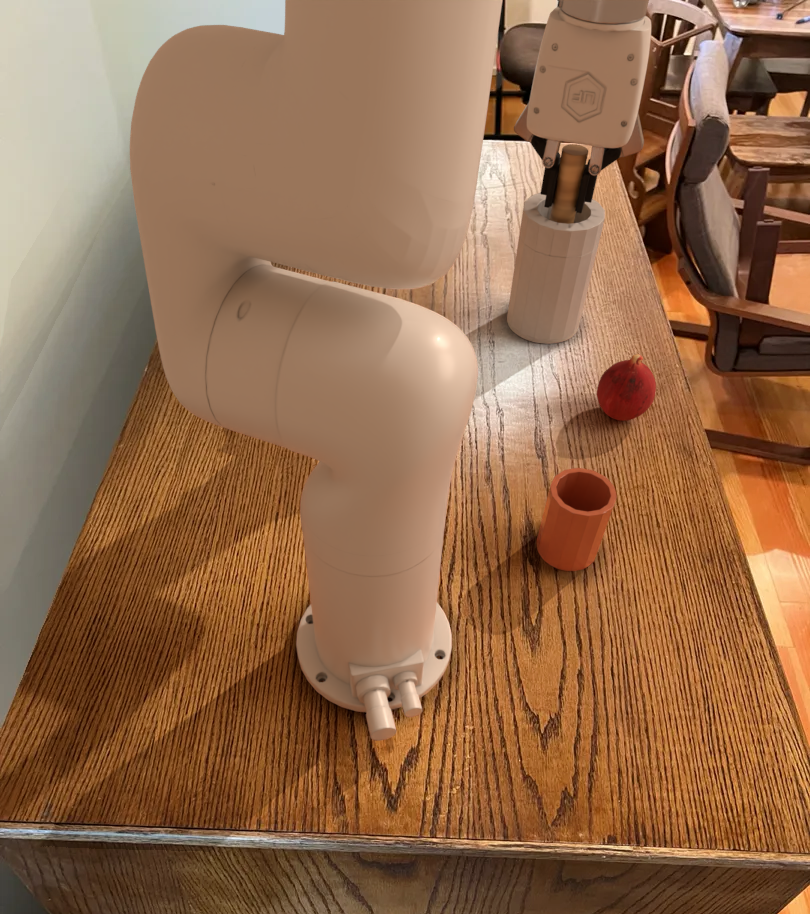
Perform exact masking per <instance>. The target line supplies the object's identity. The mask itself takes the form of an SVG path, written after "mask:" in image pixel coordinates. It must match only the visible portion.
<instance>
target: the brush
mask: <svg viewBox="0 0 810 914" xmlns="http://www.w3.org/2000/svg"><path fill="white" fill-rule="evenodd" d="M588 155H589V149H588V148H587V147H586V146H585V145H582V144H576V143H571V144H566V145H564V146H563V147H562V148H561V153H560V157H561V159H560V164H559V172H558V177H557V183H556V188H555V194H554V199H553V204H552V209H551V214H550V220H551V221H554V222H557V223H566V224H571V223H574V219H575V214H576V211H575V208H576V203H577V198H578V193H579V189H580V184H581V179H582V175H583V172H584V170H585V166H586V164H587V162H588Z"/></svg>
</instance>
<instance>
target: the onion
mask: <svg viewBox="0 0 810 914" xmlns="http://www.w3.org/2000/svg"><path fill="white" fill-rule="evenodd" d="M643 361H644V357H643V355H641V354H640V353H636V354H633V355H632V356H631V358H629V359H625V360H620V361H618V362H615V363H613V364H612V365H611V366H609V367H608V368H607V369H606V370H605V371H604V372H603V373H602V375H601V377H600V379H599V381H598V385H597V388H596V398H597V402H598V404H599V407H600V408H601V410H602V411H603V413H605V415H606V416H608V417H609V418H611V419H613V420H617V421H620V422H621V421H631V420H634V419H637V418H638V417H640V416H642V415H643V414H645V413H646V412H647V411H648V410H649V409H650V408H651V406H652V404H654V401H655V398H656V393H657V392H656V390H657V382H656V379H655V376H654V374H653V371H652V370H651V368H649V366H648V365H646V364H645V363H643Z"/></svg>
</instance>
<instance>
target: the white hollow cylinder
mask: <svg viewBox="0 0 810 914" xmlns="http://www.w3.org/2000/svg"><path fill="white" fill-rule="evenodd" d="M545 200H546V195H542V194H541V191H539V192H537V193H535V194H532V195H530V197H528V198H527V199H526V200H525V201H524V203H523V208H522V215H521V221H520V227H519V228H520V229H519V235H518V241H517V248H516V254H515V261H514V268H513V275H512V279H511V280H512V282H511V287H510V295H509V301H508V309H507V313H506V323H507V325H508V327H509V329H510V330H511V332H513V333H514V334H515V335H517V336H518V337H520V338H522V339H523V340H526V341H529V342H533V343H536V344H544V345H545V344H546V345H547V344H549V345H551V344H559V343H563V342H566V341H568V340H570V339H572V338H573V337H575V335H576V334H577V333H578V330H579V327H580V325H581V320H582V316H583V311H584V307H585V303H586V300H587V295H588V291H589V287H590V282H591V278H592V274H593V270H594V265H595V261H596V258H597V253H598V248H599V244H600V240H601V236H602V233H603V228H604V224H605V220H606V210H605V208H604V207H603V206H602V205H601V204H600V202H598V201H597V200H595V199H593V198H592V201H591V203H589V202H585V204H584V207H583V210H582V213H577V211H576V214H575V219H574V223H571V224H566V223H557V222H554V221H551V220H550V214H551V209H552V206H551V207H549V208H547V207H544V205H545Z"/></svg>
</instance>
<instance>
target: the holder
mask: <svg viewBox="0 0 810 914" xmlns="http://www.w3.org/2000/svg"><path fill="white" fill-rule="evenodd" d="M617 499H618V497H617V491H616V487H615V485H614V484H613V483H612V482H611V481H610V480H609V478H608V477H606V476H605V475H603V474H601V473H599V472H597V471H595V470H593V469H588V468H582V467H574V468H573V467H572V468H567V469H564V470H562V471H561V472H559V473H557V474H555V476H554V477H553V478H552V481H551V483H550V485H549V489H548V492H547V497H546V501H545V505H544V509H543V513H542V517H541V521H540V525H539V529H538V533H537V537H536V541H535V543H536V549H537V553H538V554H539V556H540V557H541V559H542V560H543V561H544V562H545V563H546V564H547V565H548V566H551V567H553V568H555V569H557V570H561V571H565V572H576V571H581V570H585V569H586V568H589V566H591V565H592V564H593V563H594V562H595V560H596V558H597V555H598V552H599V549H600V547H601V544H602V541H603V538H604V535H605V532H606V530H607V528H608V524H609V521H610V518H611V515H612V513H613V510H614V507H615V504H616V502H617Z"/></svg>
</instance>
